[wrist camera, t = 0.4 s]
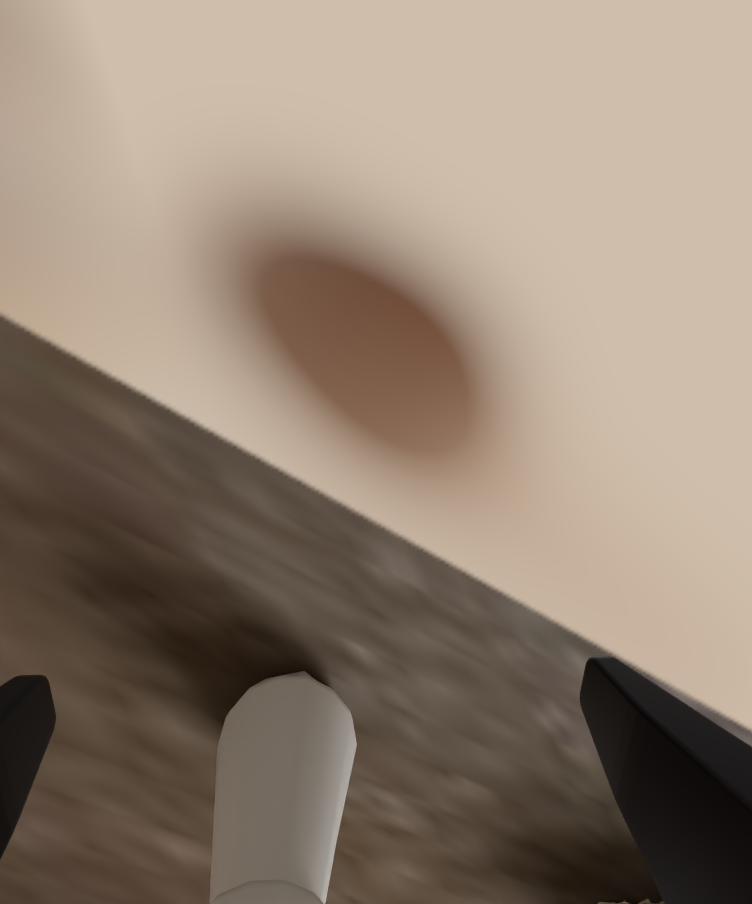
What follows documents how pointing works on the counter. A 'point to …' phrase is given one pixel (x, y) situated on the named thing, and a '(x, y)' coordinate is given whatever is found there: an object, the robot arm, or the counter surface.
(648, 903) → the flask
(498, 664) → the counter surface
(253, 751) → the salt shaker
